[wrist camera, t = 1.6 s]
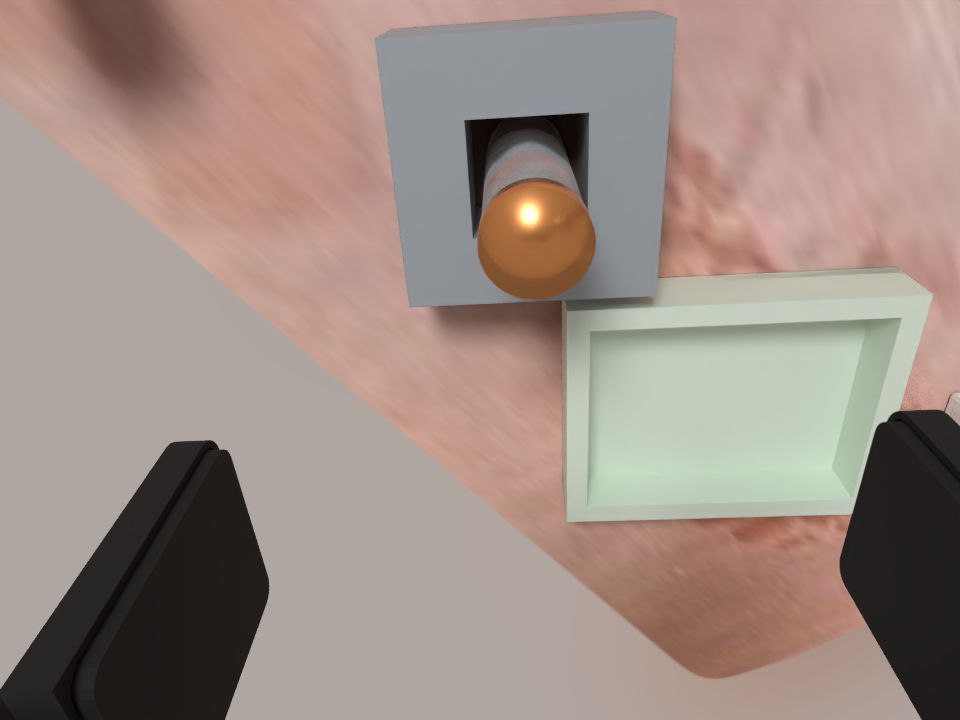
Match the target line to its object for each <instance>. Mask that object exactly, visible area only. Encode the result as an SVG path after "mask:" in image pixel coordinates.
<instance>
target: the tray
mask: <svg viewBox="0 0 960 720" xmlns="http://www.w3.org/2000/svg"><path fill="white" fill-rule="evenodd" d="M932 297H933V294H931V293H930V292H929V291H927V290H926V289H925V288H923V287H922V286H921V285H920V284H918V283H917V282H916V281H914V280H913V279H912V278H910V277H909V276H908V275H906V274H905V273H904V272H902V271H901V270H900V269H899V268H897V267H885V268H864V269H843V270H822V271H801V272H780V273H759V274H738V275H717V276H696V277H674V278H658V284H657V296H645V297H624V298H602V299H580V300H562V484H563V492H564V501H565V510H566V518H567V522H589V521H626V520H662V519H698V518H735V517H771V516H807V515H843V514H852V513H853V509H854V505H855V502H856V498H857V495H858V491H859V487H860V484H861V480H862V476H863V473H864V469H865V466H866V462H867V458H868V455H869V451H870V447H871V444H872V440H873V436H874V433H875V430H876V428H877V426H878V425H879V424H880V423H882V422H887V420H888V418H889V416H890V415H891V414H892V413H894V412H897V411H899V409H900V405H901V402H902V399H903V395H904V392H905V388H906V385H907V382H908V378H909V375H910V372H911V368H912V365H913V361H914V358H915V355H916V351H917V348H918V344H919V341H920V338H921V334H922V331H923V328H924V324H925V321H926V317H927V314H928V311H929V307H930V304H931V300H932Z"/></svg>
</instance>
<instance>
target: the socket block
mask: <svg viewBox="0 0 960 720" xmlns="http://www.w3.org/2000/svg"><path fill="white" fill-rule="evenodd" d="M676 21H677V18H676V17H672V16H669V15H666V14H662V13H659V12H656V11H643V12H629V13H615V14H600V15H586V16H572V17H557V18H543V19H529V20H514V21H500V22H486V23H471V24H457V25H443V26H428V27H414V28H399V29H391V30H389V31H387V32H386V33H384V34H382V35H380V36H379V37H377V38H375V44H376V52H377V59H378V67H379V75H380V83H381V90H382V98H383V106H384V114H385V122H386V129H387V137H388V145H389V153H390V160H391V168H392V176H393V184H394V192H395V199H396V207H397V215H398V223H399V230H400V238H401V246H402V254H403V261H404V269H405V277H406V285H407V293H408V300H409V307H428V306H450V305H472V304H493V303H515V302H537V301H559V300H580V299H602V298H624V297H645V296H657V284H658V270H659V256H660V243H661V229H662V215H663V201H664V187H665V173H666V159H667V146H668V132H669V118H670V104H671V90H672V76H673V63H674V49H675V35H676ZM573 113H578V189H579V192H580V195H581V198H582V200H583V202H584V204H585V206H586V208H587V210H588V212H589V215H590V218H591V221H592V224H593V227H594V231H595V237H596V246H595V253H594V258H593V260H592V263H591V265H590V267H589V269H588V271H587V272H586V274H585V275H584V277H583V278H582V279H581V280H580V281H579V282H578V283H577V284H576V285H575V286H573V287H572V288H571V289H569V290H568V291H566V292H564V293H562V294H560V295H558V296H555V297H552V298H548V299H541V300H528V299H522V298H518V297H515V296H512V295H510V294H508V293H506V292H504V291H502V290H501V289H499V288H498V287H497V286H496V285H495V284H494V283H493V282H491V280H490V279H489V278H488V277H487V275H486V274H485V272H484V270H483V268H482V266H481V264H480V260H479V257H478V250H477V241H478V230H479V223H480V219H481V215H482V207H476V196H475V181H474V167H473V152H472V137H471V123H470V120H476V119H492V118H508V117H525V116H541V115H557V114H573Z"/></svg>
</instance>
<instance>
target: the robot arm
mask: <svg viewBox="0 0 960 720" xmlns="http://www.w3.org/2000/svg"><path fill="white" fill-rule="evenodd" d="M840 573H841V577H842V580H843V582H844V585H845V587H846V588H847V590H848V592H849V594H850V595H851V597H852V599H853V601H854V602H855V604H856V606H857V608H858V609H859V611H860V613H861V615H862V616H863V618H864V620H865V622H866V623H867V625H868V627H869V628H870V630H871V632H872V634H873V635H874V637H875V639H876V641H877V642H878V644H879V646H880V648H881V649H882V651H883V653H884V655H885V656H886V658H887V660H888V662H889V663H890V665H891V667H892V668H893V670H894V672H895V674H896V676H897V677H898V679H899V681H900V683H901V684H902V686H903V688H904V690H905V691H906V693H907V695H908V696H909V698H910V700H911V702H912V704H913V705H914V707H915V709H916V710H917V712H918V714H919V716H920V718H921V719H922V720H960V426H959V425H958V424H957V423H956V422H955V421H954V420H953V419H952V418H951V417H950V416H949V415H948V414H947V413H945V412H944V411H941V410H914V411H897V412H894V413H892V414H891V415H890V416H889V418H888V420H887V422H882V423H880V424H879V425H878V426H877V428H876V430H875V433H874V436H873V440H872V444H871V447H870V451H869V455H868V458H867V462H866V466H865V469H864V473H863V476H862V480H861V484H860V487H859V491H858V495H857V498H856V502H855V505H854V509H853V513H852V516H851V520H850V524H849V527H848V531H847V535H846V538H845V542H844V545H843V549H842V553H841V556H840ZM268 594H269V580H268V575H267V572H266V569H265V565H264V562H263V559H262V555H261V552H260V549H259V546H258V543H257V539H256V536H255V533H254V530H253V526H252V523H251V520H250V517H249V514H248V510H247V507H246V504H245V500H244V497H243V494H242V491H241V488H240V484H239V481H238V478H237V474H236V471H235V468H234V465H233V462H232V458H231V456H230V454H229V452H228V451H227V450H219V448H218V446H217V444H216V443H215V442H213V441H210V440H208V441H183V442H173V443H170V444H169V445H168V447H166V449H165V450H164V452H163V453H162V455H161V456H160V458H159V459H158V460H157V462H156V463H155V465H154V466H153V468H152V469H151V471H150V472H149V474H148V475H147V476H146V478H145V479H144V481H143V482H142V484H141V485H140V487H139V488H138V490H137V491H136V493H135V494H134V495H133V497H132V499H131V500H130V501H129V503H128V504H127V506H126V507H125V509H124V510H123V511H122V513H121V514H120V516H119V518H118V519H117V520H116V522H115V523H114V525H113V526H112V528H111V529H110V530H109V532H108V533H107V535H106V536H105V538H104V539H103V541H102V542H101V543H100V545H99V547H98V548H97V549H96V551H95V552H94V554H93V555H92V557H91V558H90V559H89V561H88V562H87V564H86V565H85V567H84V568H83V570H82V571H81V573H80V574H79V576H78V577H77V578H76V580H75V581H74V583H73V584H72V586H71V587H70V589H69V590H68V592H67V593H66V594H65V596H64V598H63V599H62V600H61V602H60V603H59V605H58V606H57V608H56V609H55V611H54V612H53V613H52V615H51V616H50V618H49V619H48V621H47V622H46V624H45V625H44V626H43V628H42V629H41V631H40V632H39V634H38V635H37V637H36V638H35V640H34V641H33V643H32V644H31V645H30V647H29V649H28V650H27V651H26V653H25V654H24V656H23V657H22V659H21V660H20V661H19V663H18V665H17V666H16V667H15V669H14V670H13V672H12V673H11V675H10V676H9V677H8V679H7V680H6V682H5V683H4V685H3V686H2V688H1V689H0V720H225V718H226V715H227V712H228V709H229V707H230V704H231V701H232V698H233V695H234V693H235V690H236V687H237V684H238V682H239V679H240V676H241V673H242V670H243V667H244V665H245V662H246V659H247V656H248V654H249V651H250V648H251V645H252V643H253V640H254V637H255V634H256V631H257V628H258V626H259V623H260V620H261V617H262V615H263V611H264V609H265V606H266V603H267V600H268Z"/></svg>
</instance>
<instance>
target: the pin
mask: <svg viewBox="0 0 960 720" xmlns="http://www.w3.org/2000/svg"><path fill="white" fill-rule="evenodd" d="M595 246H596V237H595V231H594V227H593V224H592V221H591V218H590V215H589V212H588V210H587V208H586V206H585V204H584V202H583V200H582V198H581V195H580V192H579V189H578V186H577V183H576V180H575V177H574V174H573V171H572V168H571V165H570V162H569V159H568V157H567V154H566V151H565V148H564V145H563V142H562V139H561V136H560V134H559V132H558V130H557V129H556V127H555V126H554V125H553V124H552V123H551V122H550V121H549V120H547V119H546V118H544V117H542V116H525V117H508V118H506V119H505V120H503V121H502V122H501V123H500V124H499V125H498V126H497V127H496V128H495V129H494V131H493V133H492V134H491V136H490V139H489V142H488V146H487V156H486V168H485V180H484V192H483V203H482V215H481V219H480V223H479V230H478V241H477V250H478V257H479V260H480V264H481V266H482V268H483V270H484V272H485V274H486V275H487V277H488V278H489V279H490V280H491V282H493V283H494V284H495V285H496V286H497V287H498V288H499V289H501V290H502V291H504V292H506V293H508V294H510V295H512V296H515V297H518V298H522V299H528V300H541V299H548V298H552V297H555V296H558V295H560V294H562V293H564V292H566V291H568V290H569V289H571V288H572V287H573V286H575V285H576V284H577V283H578V282H579V281H580V280H581V279H582V278H583V277H584V275H585V274H586V272H587V271H588V269H589V267H590V265H591V263H592V260H593V258H594V253H595Z"/></svg>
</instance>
